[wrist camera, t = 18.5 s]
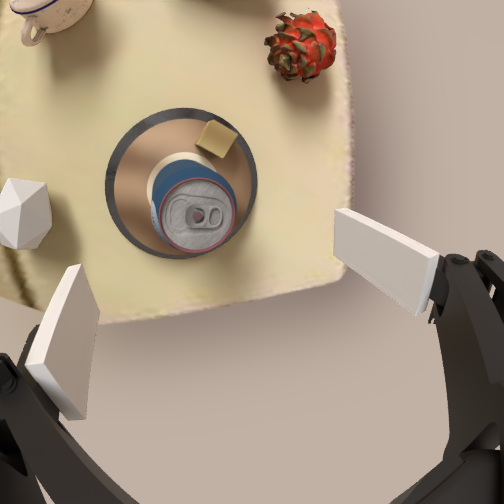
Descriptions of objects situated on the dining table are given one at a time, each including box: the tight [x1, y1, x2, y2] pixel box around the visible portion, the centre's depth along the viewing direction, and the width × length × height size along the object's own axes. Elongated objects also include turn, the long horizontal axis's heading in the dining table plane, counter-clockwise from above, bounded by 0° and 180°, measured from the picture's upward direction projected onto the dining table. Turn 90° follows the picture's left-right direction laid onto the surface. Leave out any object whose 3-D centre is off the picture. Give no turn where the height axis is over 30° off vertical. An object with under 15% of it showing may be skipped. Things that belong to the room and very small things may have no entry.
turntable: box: [114, 119, 251, 255], centre depth 30 cm, size 16×16×5 cm
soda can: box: [151, 159, 237, 253], centre depth 26 cm, size 7×7×12 cm
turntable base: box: [105, 108, 257, 259], centre depth 33 cm, size 19×19×1 cm
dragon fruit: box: [264, 7, 336, 84], centre depth 27 cm, size 8×8×12 cm
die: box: [0, 178, 52, 250], centre depth 24 cm, size 8×9×10 cm
